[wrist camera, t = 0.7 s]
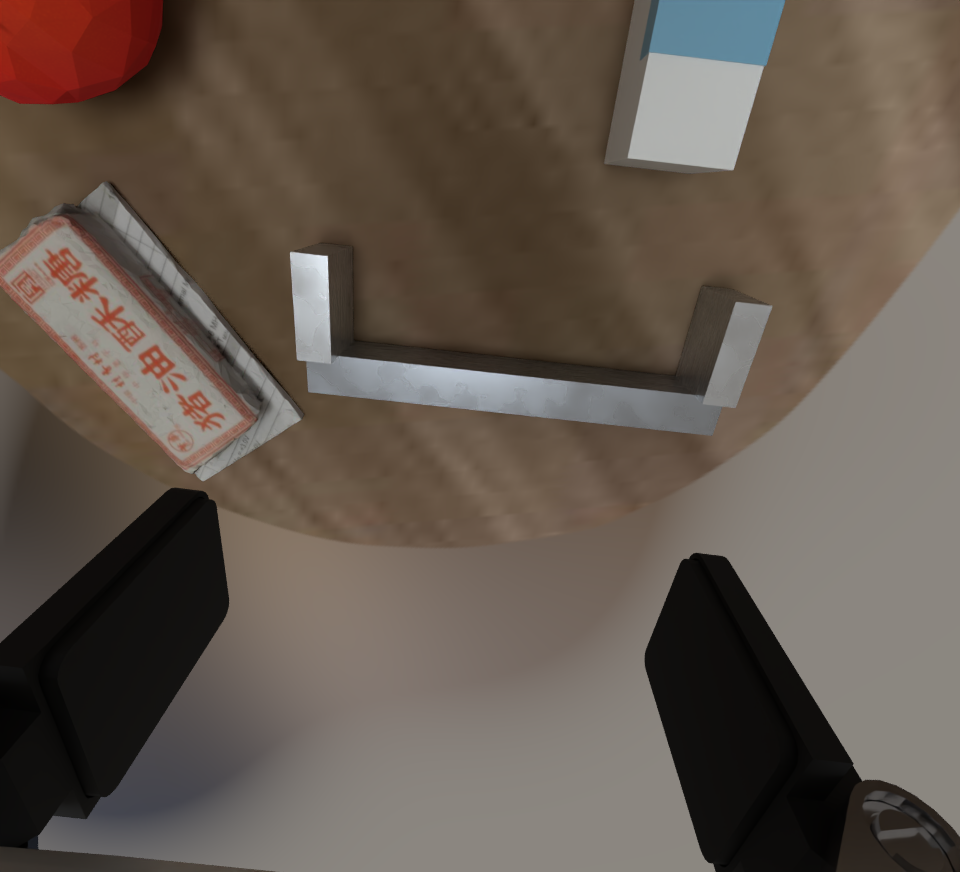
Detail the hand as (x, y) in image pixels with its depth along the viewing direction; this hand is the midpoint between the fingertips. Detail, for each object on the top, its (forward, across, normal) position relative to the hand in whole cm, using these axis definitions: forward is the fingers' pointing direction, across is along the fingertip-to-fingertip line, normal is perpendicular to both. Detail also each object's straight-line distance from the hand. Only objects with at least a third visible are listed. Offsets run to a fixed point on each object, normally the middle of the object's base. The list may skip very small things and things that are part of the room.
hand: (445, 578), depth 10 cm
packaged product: (+26, +21, +6) cm, 34 cm away
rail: (+25, -3, +1) cm, 25 cm away
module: (+25, -8, -13) cm, 29 cm away
